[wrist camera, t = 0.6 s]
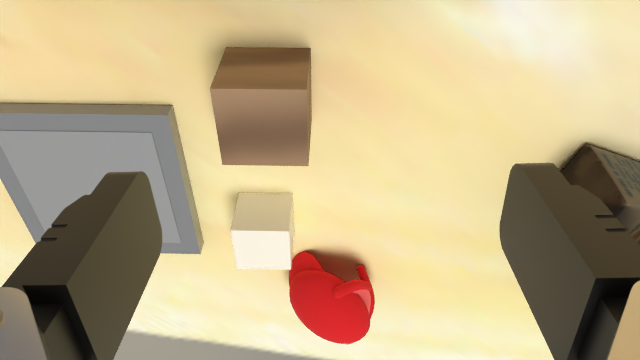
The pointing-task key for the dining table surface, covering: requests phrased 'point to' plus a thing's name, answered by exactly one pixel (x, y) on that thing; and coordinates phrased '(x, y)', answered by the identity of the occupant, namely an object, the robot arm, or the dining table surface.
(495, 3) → the dining table surface
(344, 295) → the red rounded lumpy piece
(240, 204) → the cream block
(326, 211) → the dining table surface
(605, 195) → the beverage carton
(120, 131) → the plate
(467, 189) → the dining table surface
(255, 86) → the walnut block
